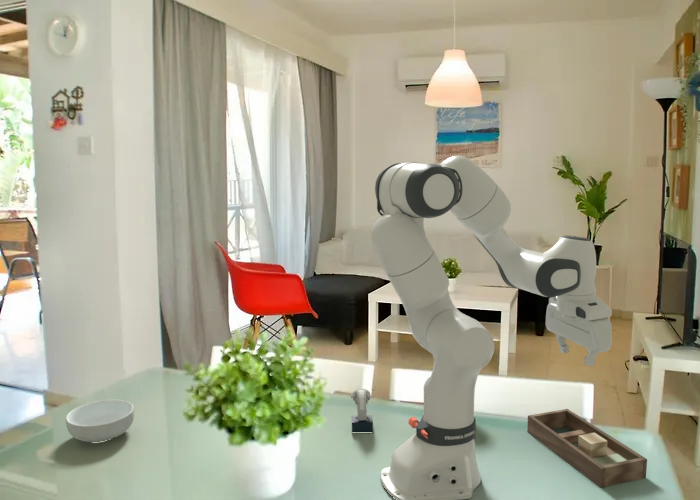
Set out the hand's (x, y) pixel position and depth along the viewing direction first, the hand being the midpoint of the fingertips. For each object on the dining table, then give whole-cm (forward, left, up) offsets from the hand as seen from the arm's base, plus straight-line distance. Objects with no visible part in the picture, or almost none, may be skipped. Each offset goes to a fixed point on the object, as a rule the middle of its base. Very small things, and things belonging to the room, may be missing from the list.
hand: (576, 358), depth 147 cm
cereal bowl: (-112, +46, -23) cm, 124 cm away
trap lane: (0, -4, -23) cm, 23 cm away
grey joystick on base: (-46, +26, -23) cm, 58 cm away
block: (0, -7, -21) cm, 22 cm away
